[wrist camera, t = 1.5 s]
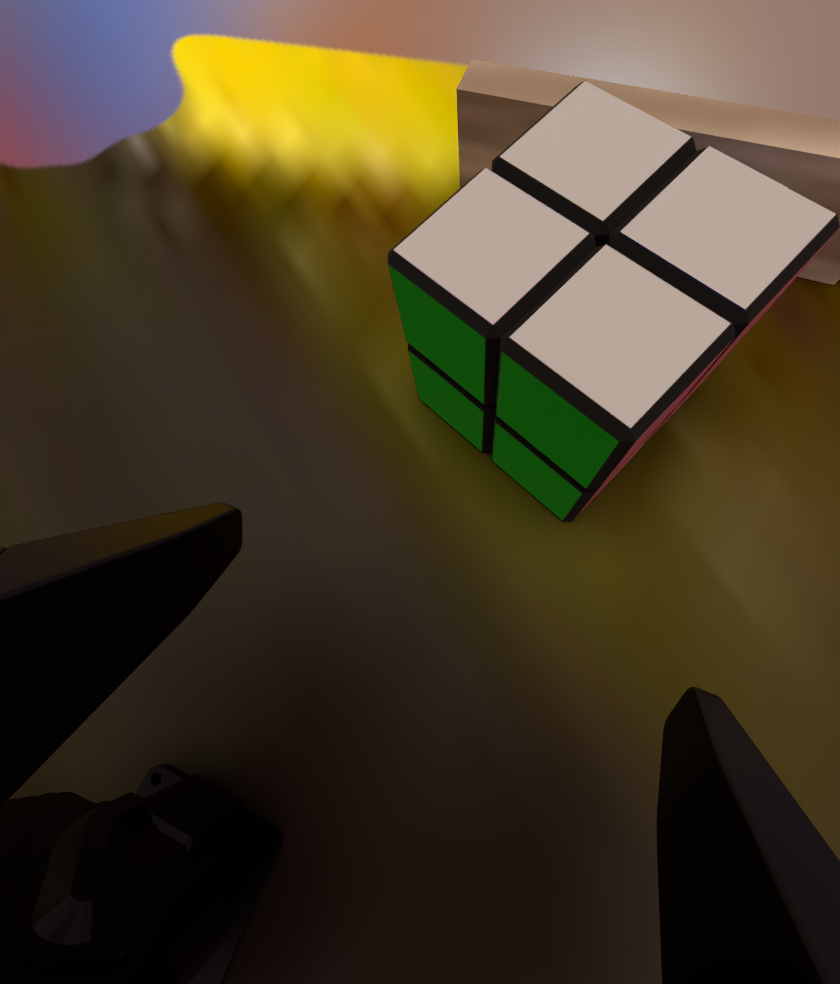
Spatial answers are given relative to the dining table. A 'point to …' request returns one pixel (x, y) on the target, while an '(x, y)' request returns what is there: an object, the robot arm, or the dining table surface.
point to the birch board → (721, 125)
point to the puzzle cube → (591, 289)
